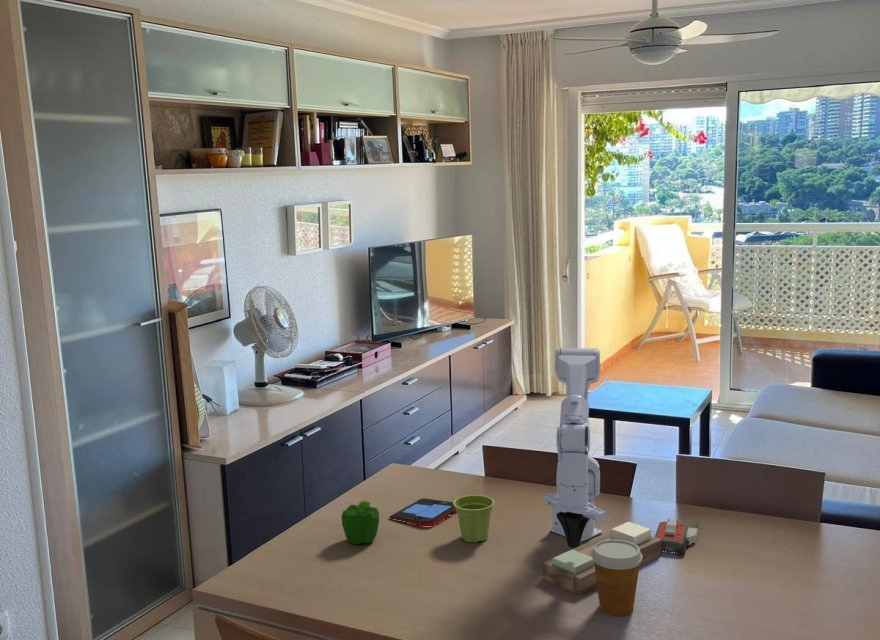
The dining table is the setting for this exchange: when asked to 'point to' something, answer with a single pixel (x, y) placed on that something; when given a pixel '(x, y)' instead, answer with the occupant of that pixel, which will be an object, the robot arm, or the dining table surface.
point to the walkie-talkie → (676, 535)
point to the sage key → (573, 561)
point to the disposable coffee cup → (616, 575)
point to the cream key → (631, 533)
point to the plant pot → (474, 516)
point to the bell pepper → (360, 523)
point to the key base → (588, 577)
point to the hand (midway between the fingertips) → (573, 546)
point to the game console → (425, 512)
